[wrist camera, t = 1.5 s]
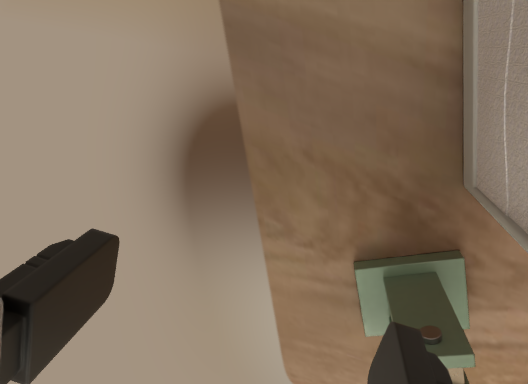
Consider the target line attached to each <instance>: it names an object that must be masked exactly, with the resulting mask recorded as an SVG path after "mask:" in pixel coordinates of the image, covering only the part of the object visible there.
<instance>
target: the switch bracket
mask: <svg viewBox="0 0 528 384" xmlns="http://www.w3.org/2000/svg"><path fill="white" fill-rule="evenodd" d="M354 269H355V276H356V282H357V288H358V294H359V300H360V306H361V312H362V319H363V325H364V331H365V336H366V337H368V336H381V335H384V334H385V331H386V329H387V327H388V325H389V324H390V323H391V322H396V323H399V324H403V325H406V326H409V327H413V328H416V329H419V330H420V331H421V334H422V337H423V340H424V343H425V347H426V350H427V351H428V352H431V353H434V354H436V355H437V357H438V358H439V359H440V360H441V362H442V363H443V364H444V366H445V367H446V368H447V369H450V368H467V367H475V355H474V352H473V350H472V348H471V346H470V344H469V342H468V339H467V337H466V335H465V333H464V331H463V329H470V324H469V312H468V299H467V286H466V274H465V261H464V257H463V255H462V254H461V252H460V251H459V250H456V251H448V252H439V253H430V254H421V255H412V256H403V257H394V258H385V259H376V260H368V261H359V262H354ZM463 370H464V369H463ZM464 382H465V383H464V384H469V381H468V379H467V377H466V374H465V372H464Z"/></svg>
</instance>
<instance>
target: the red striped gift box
mask: <svg viewBox="0 0 528 384" xmlns="http://www.w3.org/2000/svg"><path fill="white" fill-rule="evenodd" d="M463 141H464V187H465V188H466V189H467V190H468V191H469V192H470V193H471V194H472V195H473V196H474V197H475V198H476V200H477V201H478V202H479V203H480V204H481V205H482V206H483V207H484V208H485V209H486V210H487V211H488V212H489V213H490V214H491V215H492V216H493V217H494V218H495V219H496V220H497V221H498V223H499V224H500V225H501V226H502V227H503V228H504V229H505V230H506V231H507V232H508V233H509V234H510V235H511V236H512V237H513V238H514V239H515V240H516V241H517V242H518V243H519V244H520V245H521V247H522V248H523V249H524V250H525V251H526V252H527V253H528V0H463Z"/></svg>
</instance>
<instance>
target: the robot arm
mask: <svg viewBox="0 0 528 384" xmlns="http://www.w3.org/2000/svg"><path fill="white" fill-rule="evenodd" d="M118 248H119V238H118V236H116V235H112V234H109V233H106V232H103V231H99V230H96V229H90V230H89V231H87V232H86V233H85V234H83V235H82V236H81V237H79V238H78V239H76V240H75V241H73V240H69V239H68V240H65V241H62V242H59V243H55V244H52V245H50V246H48V247H47V248H45V249H44V250H42V251H41V252H39V253H38V254H37V256H34V257H32V258H31V259H29V260H28V261H26V263H25V264H22V265H20V266H19V267H17V268H16V269H15V270H13V271H12V272H10V273H9V274H7V275H6V276H4V277H3V278H1V279H0V384H7V383H8V382H9V381H10V380H12V381H14V382H17V383H20V384H30V383H31V382H32V381H33V380H34V379H35V378H36V377H37V375H38V374H39V373H40V372H41V371H42V370H43V369H44V368H45V367H46V366H47V365H48V364H49V362H50V361H51V360H52V359H53V358H54V357H55V356H56V355H57V354H58V353H59V351H60V350H61V349H62V348H63V347H64V346H65V345H66V344H67V343H68V341H70V340H71V338H72V337H73V336H74V335H75V334H76V333H77V332H78V331H79V330H80V328H82V326H83V325H84V324H85V323H86V322H87V321H88V320H89V319H90V318H91V317H92V316H93V314H94V313H95V312H96V311H97V310H98V309H99V308H100V307H101V306H102V305H103V303H104V302H105V301H106V299H107V298H108V296H109V294H110V292H111V290H112V287H113V283H114V277H115V270H116V262H117V256H118ZM368 384H453V383H452V380H451V377H450V374H449V371H448V369H447V368H446V367H445V366H444V364H443V363H442V362H441V360H440V359H439V358H438V357H437V355H436V354H434V353H431V352H428V351H427V350H426V347H425V343H424V340H423V337H422V334H421V331H420V330H419V329H416V328H413V327H409V326H406V325H403V324H399V323H396V322H391V323H390V324H389V325H388V327H387V329H386V331H385V334H384V336H383V338H382V341H381V343H380V345H379V348H378V350H377V352H376V355H375V357H374V359H373V362H372V364H371V367H370V370H369V375H368Z"/></svg>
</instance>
